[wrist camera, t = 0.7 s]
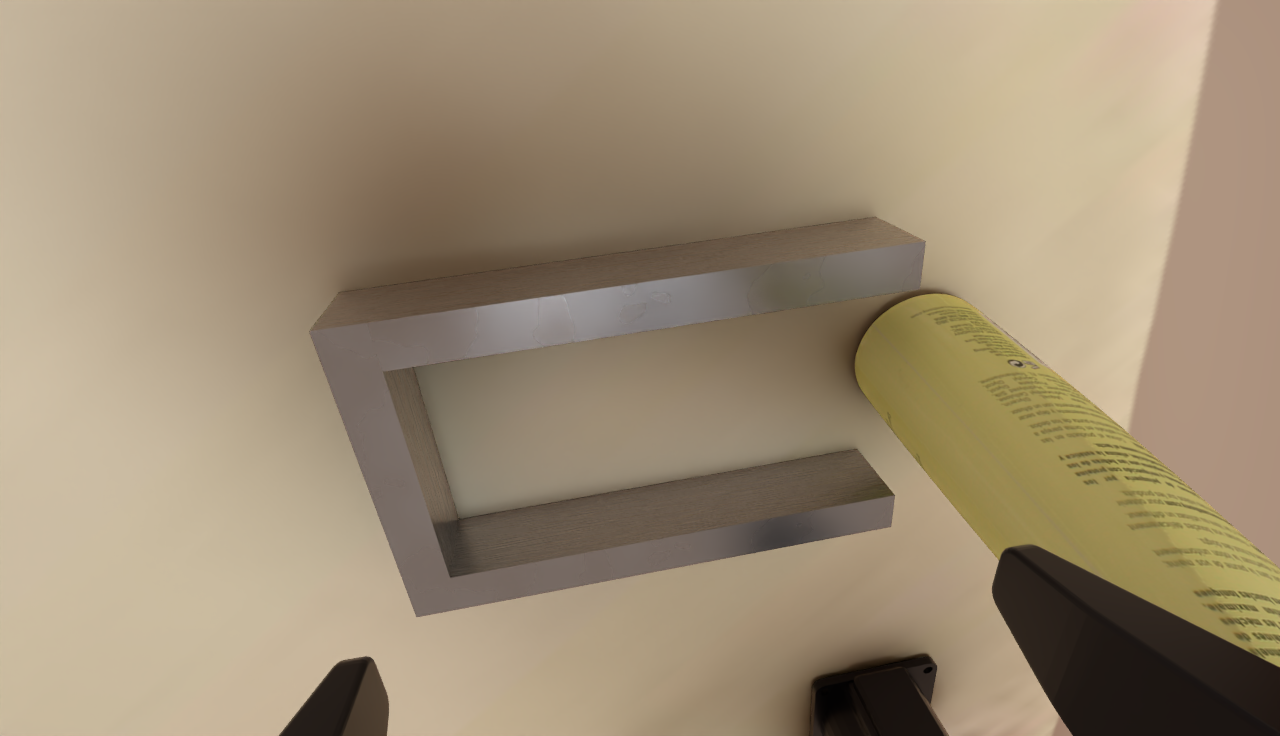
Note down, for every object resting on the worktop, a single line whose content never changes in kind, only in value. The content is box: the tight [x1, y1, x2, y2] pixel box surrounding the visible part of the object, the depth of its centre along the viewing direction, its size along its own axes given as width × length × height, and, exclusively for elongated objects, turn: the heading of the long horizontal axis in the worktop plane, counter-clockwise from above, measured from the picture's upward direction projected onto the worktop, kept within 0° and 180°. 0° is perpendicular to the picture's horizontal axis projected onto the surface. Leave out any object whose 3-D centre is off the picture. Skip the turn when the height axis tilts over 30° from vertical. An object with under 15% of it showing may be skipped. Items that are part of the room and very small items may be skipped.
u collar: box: [309, 217, 926, 617], centre depth 21 cm, size 11×18×3 cm, turn 95°
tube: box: [855, 294, 1280, 667], centre depth 15 cm, size 6×5×20 cm
